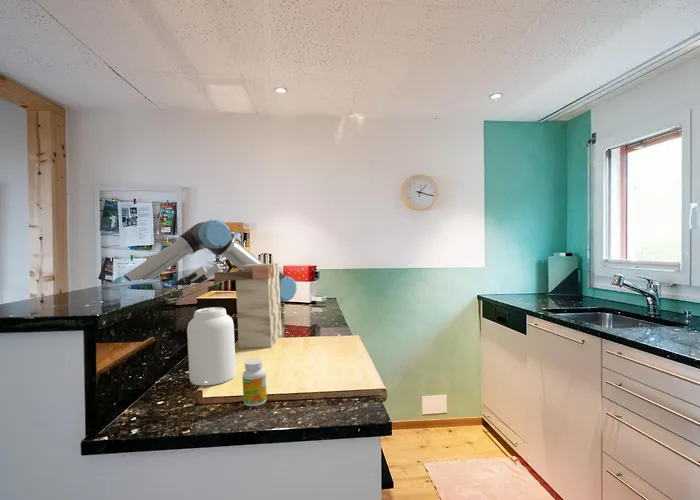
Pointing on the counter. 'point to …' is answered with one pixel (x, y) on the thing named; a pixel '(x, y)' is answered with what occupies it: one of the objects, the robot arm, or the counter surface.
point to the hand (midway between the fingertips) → (212, 267)
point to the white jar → (211, 347)
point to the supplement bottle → (254, 383)
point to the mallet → (246, 274)
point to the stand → (259, 310)
